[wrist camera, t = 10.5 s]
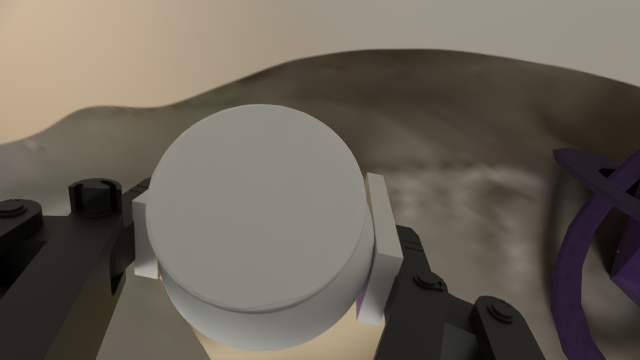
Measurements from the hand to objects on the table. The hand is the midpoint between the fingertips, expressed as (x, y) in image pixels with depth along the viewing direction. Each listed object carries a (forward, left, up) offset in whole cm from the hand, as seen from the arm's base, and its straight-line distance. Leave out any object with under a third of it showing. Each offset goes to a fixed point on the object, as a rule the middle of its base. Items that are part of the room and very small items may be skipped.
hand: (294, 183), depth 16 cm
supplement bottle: (+2, -3, -5) cm, 6 cm away
